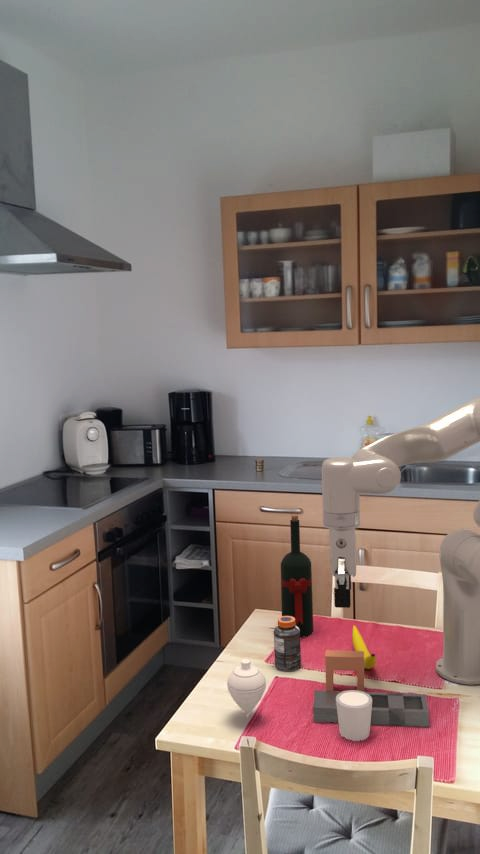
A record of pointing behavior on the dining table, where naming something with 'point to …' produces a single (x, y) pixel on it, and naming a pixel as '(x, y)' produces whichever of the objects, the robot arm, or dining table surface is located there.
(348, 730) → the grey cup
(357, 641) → the banana
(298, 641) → the pill bottle
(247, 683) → the spinning top
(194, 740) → the dining table surface
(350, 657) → the orange block
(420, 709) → the grey slotted block
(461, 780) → the dining table surface
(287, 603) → the wine bottle
